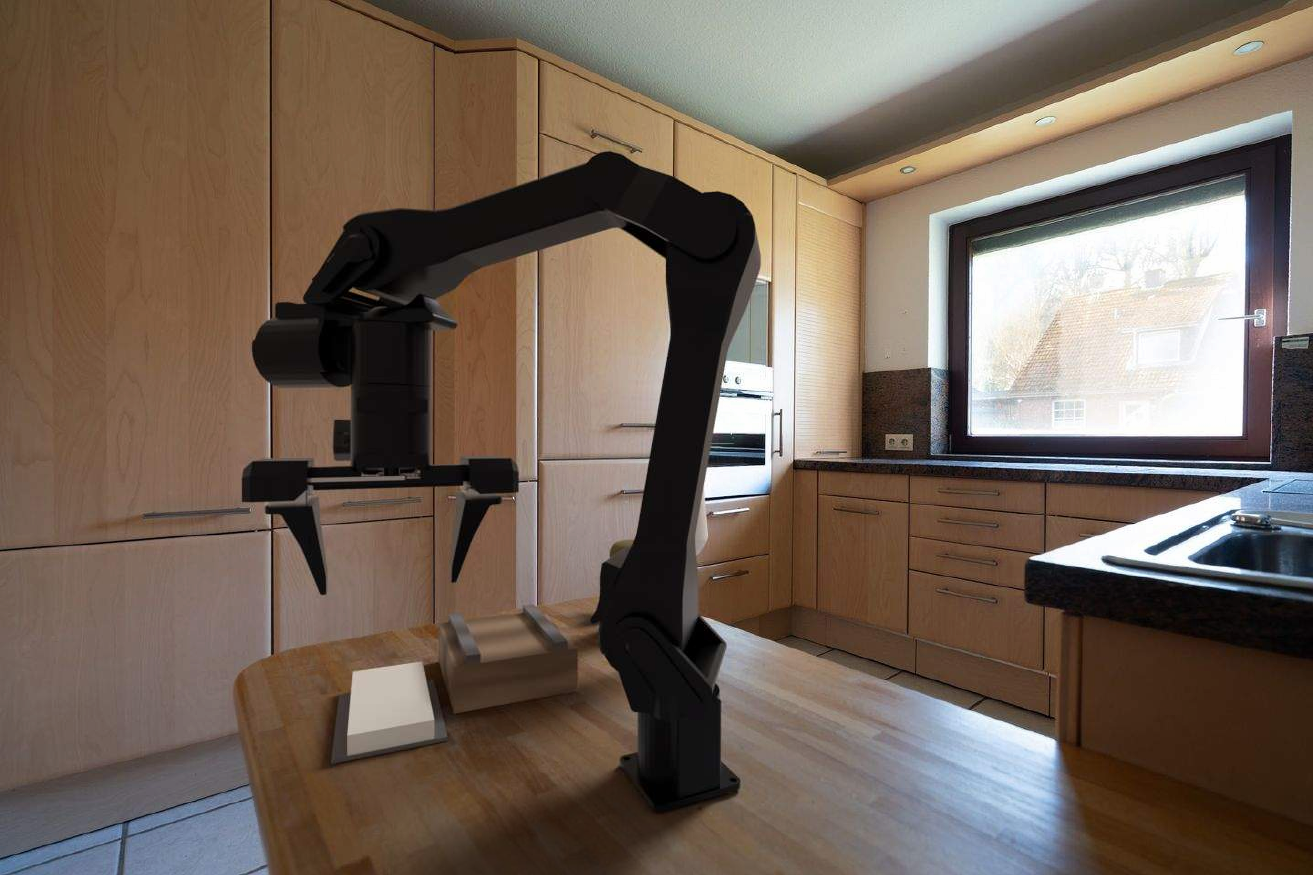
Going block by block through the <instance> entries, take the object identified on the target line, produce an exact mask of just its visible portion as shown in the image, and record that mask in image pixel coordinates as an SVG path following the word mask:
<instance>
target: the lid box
mask: <svg viewBox="0 0 1313 875" xmlns="http://www.w3.org/2000/svg"><path fill="white" fill-rule="evenodd" d="M438 664H439V667H440V671H441V673H442V677H443V680H444V683H445V688H446V692H447V695H448V698H449V701H450V704H451V708H452V712H453V714H460V713H464V712H465V713H466V712H470V711H477V710H481V709H487V708H492V707H499V706H503V705H508V704H515V703H519V702H524V701H529V700H536V699H541V698H546V697H552V696H558V695H562V694H569V693H574V692H578V691H579V647H577V645H576V644H575V643H574V642H573V641H572V639H570V638H569V637H568V636H567V635H566V633H564V631H562V629H561V628H559V626H558V625H557V624H556V623H555V622H554V621H553V620H552V618H550V617H549V616H548V615H547V614H546V613H545V612H544V611H543V610H539V608H538V607H537V606H535V604H534V603H533V604H526V605H522V612H518V613H511V614H504V615H496V616H495V615H494V616H486V617H479V618H471V619H470V618H469V619H464V617H463V615H462V613H461V612H459V613H450V614H448V621H445V622H439V623H438Z"/></svg>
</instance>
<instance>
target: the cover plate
mask: <svg viewBox="0 0 1313 875" xmlns="http://www.w3.org/2000/svg"><path fill="white" fill-rule="evenodd" d="M426 681H427V676H426V673H425V668H424V663H423V661H416V662H410V663H409V662H408V663H403V664H397V665H389V666H382V667H374V668H370V669H362V670H361V669H360V670H353V671H352V679H351V690H350V693H351V699H350V710H349V722H348V733H347V756H350V755H355V754H360V753H365V752H370V751H375V750H380V749H385V748H391V747H396V746H401V745H406V744H411V743H416V742H421V741H426V740H431V739H434V715H433V710H432V706H431V701H430V696H429V691H428V687H427V682H426Z"/></svg>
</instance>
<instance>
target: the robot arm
mask: <svg viewBox="0 0 1313 875" xmlns="http://www.w3.org/2000/svg"><path fill="white" fill-rule="evenodd" d="M617 228H618V229H620V230H622V231H623V232H625V233H627V234H628V235H630V236H631V237H633V238H634V239H636V241H639V242H640V243H641V244H643V245H645V246H646V247H647V248H648V249H649V250H652V251H653V252H655V254H658V255H659V256H660V257H662V258H664V260H665V287H666V288H665V289H666V299H667V307H668V316H669V317H668V318H669V325H670V328H669V330H670V332H669V333H670V335H669V342H668V348H667V354H666V361H665V366H664V370H663V372H664V373H663V376H662V377H663V378H662V382H661V383H662V384H661V387H660V388H661V389H660V394H659V401H658V405H657V411H656V417H655V423H654V424H655V425H654V430H653V434H652V442H651V446H650V453H649V458H648V459H649V460H648V465H647V471H646V475H645V476H646V477H645V482H644V487H643V492H642V493H643V494H642V499H641V505H640V511H639V517H638V521H637V522H638V523H637V528H636V534H635V536H634V539H633V540H634V541H633V544H632V546H631V548H628V547H626V548H624V549H623V550H621V551H620V552H618V553H617V554H615V555H614V556H612V557H611V558H610V557H609V558H608V559H606V560H605V561H603V562H602V563H601V565H600V573H599V600H598V603H597V604H596V605H597V606H596V608H595V611H594V613H593V615H592V616H591V618H590V619H589V622H590V624H591V625H595V624H597V623H599V626H598V629H597V630H598V631H597V642H598V647H599V652H600V654H602V655H603V656H604V658H605V659H606V660H607V662H608V664H609V665H610V667H612V669H614V670H615V671H616V672H617V673H618V675H619V678H620V682H621V684H622V687H623V690H624V693H625V696H626V699H627V702H628V704H629V707H630V710H631V711H632V712H634V713H637V751H636V752H632V753H628V754H624V755H621V756H620V757H619V765H620V768H622V770H623V771H624V773H625V775H627V777H628V778H629V779H630V781H631V782H632V784H633V785H634V786H635V787H636V789H637V790H638V791H639V793H640V795H641V796H642V797H643V798H644V800H645V801H646V802H647V804H648V805H649V807H650V808H651V809H652V810H653V811H655V812H657V813H660V812H661V813H662V812H666V811H670V810H673V809H676V808H679V807H683V806H686V805H689V804H690V805H691V804H693V803H698V802H701V801H703V800H707V799H710V798H714V797H718V796H721V795H724V794H728V793H731V792H735V791H738V790H740V789H741V779H740V777H739V776H738V775H736V773H735V772H733V771H732V770H731V769H730V768H729V767H728V766H727V765H726V764H725V763H724V762H723V761H722V700H721V697H720V696H721V692H720V691H721V689H720V686H719V685H718V684H717V683H716V682H717V679H718V675H719V672H720V671H721V670H720V669H721V667H722V663H723V660H724V656H725V654H726V650H727V647H728V644H727V642H726V641H725V640H724V639H723V638H722V636H720V634H719V633H718V632H717V631H716V630H715V629H714V628H713V626H711V625H710V623H708V622H707V621H706V619H704V618H703V616H701V614H699V570H698V561H697V556H696V549H695V533H696V527H697V522H698V516H699V510H700V505H701V499H702V493H703V488H704V489H705V481H706V475H707V469H708V465H709V464H708V463H709V458H710V453H711V448H712V441H713V437H714V430H715V425H716V420H717V414H718V407H719V404H720V403H719V402H720V396H721V390H722V385H723V379H724V374H725V366H726V363H727V357H728V351H729V349H730V346H731V343H732V341H733V338H734V337H735V334H736V332H737V330H738V327H739V325H740V323H741V321H742V318H743V317H744V315H745V312H746V310H747V308H748V304H749V302H750V299H751V295H752V293H753V291H754V288H755V286H756V283H757V280H758V277H759V274H760V270H761V268H762V267H761V265H762V261H761V260H762V259H761V258H762V254H761V249H760V244H759V240H758V239H759V238H758V234H757V228H756V224H755V219H754V215H753V214H752V212H751V211H750V210H749V207H747V206H746V204H745V203H744V202H743V201H742V200H740V199H739V198H738V197H736V196H734V195H733V194H730V193H727V192H722V191H719V190H717V191H714V190H713V191H704V192H702V191H700V190H698V189H696V188H694V187H692V186H691V185H689V184H687V183H685V182H684V181H682V180H681V179H679V178H676V177H675V176H672V175H671V174H666V173H665V172H661V171H657V170H655V169H652V168H650V167H646V166H642V165H640V164H638V163H636V162H635V161H633V160H631V159H630V158H629V157H627V156H625V155H624V154H622V153H618V152H616V151H615V152H614V151H610V150H608V151H600V152H598V153H597V154H595V155H593V156H591V157H590V158H589V160H588V161H587V162H584V163H582V164H578V165H575V166H572V167H569V168H566V169H563V170H560V171H558V172H557V171H556V172H554V173H550V174H548V175H545V176H542V177H539V178H535V179H533V180H530V181H527V182H524V183H520V184H518V185H515V186H512V187H509V188H506V189H503V190H499V191H497V192H493V193H490V194H488V195H484V196H481V197H479V198H475V199H473V200H469V201H467V202H464V203H460V204H458V205H455V206H450V207H448V208H442V209H441V208H440V209H420V208H419V209H418V208H406V207H405V208H404V207H398V208H390V209H388V208H387V209H384V210H376V211H375V210H374V211H368V212H363V213H359V214H357V215H354V216H352V217H351V218H350V219H348V221H346V222H345V223H344V224H343V225H342V230H343V232H342V233H341V234H340V236H339V238H338V239H337V241H336V242H335V244H334V246H333V247H332V248H331V250H330V252H329V253H328V255H327V257H326V259H325V260H324V261H323V264H322V265H321V267H320V268H319V270H318V271H317V273H315V275H314V276H313V277H312V278H311V282H310V284H309V286H308V287H307V289H306V291H305V292H304V294H303V297H302V302H304V303H296V302H290V301H277V302H276V303H275V305H274V317H272V318H269V319H268V320H266V321H265V322H263V323H262V324H261V325H260V327H259V328H258V331H257V332H256V335H255V338H254V339H253V340H252V342H251V353H252V354H251V355H252V359H253V362H254V365H255V368H256V370H257V371H258V373H259V375H260V376H261V377H262V378H263V379H264V380H265V382H267V383H269V384H271V386H275V387H277V388H281V389H298V388H299V389H301V388H302V389H303V388H304V389H305V388H307V389H310V388H311V389H312V388H313V389H315V388H318V389H319V388H347V387H350V419H334V420H333V432H332V454H333V459H334V460H333V461H336V462H343V461H344V462H345V461H346V462H348V461H349V462H350V465H341V466H339V465H337V466H336V465H335V466H334V465H331V466H328V465H327V466H322V465H321V466H320V465H319V466H315V460H314V457H290V458H289V457H283V458H282V457H281V458H279V457H278V458H277V457H276V458H274V457H273V458H272V457H270V458H269V457H268V458H259V459H256V460H252V461H251V462H250V463H248V464H247V466H245V467H244V468H243V469H242V475H241V502H242V503H267V504H266V505H265V506H264V515H280V516H281V517H282V520H283V521H284V522H285V524H286V526H287V528H289V530H290V532H291V534H292V536H293V538H294V539H295V540H296V542H297V544H298V546H299V547H300V549H301V551H302V554H303V556H304V559H305V561H306V563H307V566H308V569H309V571H310V573H311V576H312V578H313V581H314V583H315V585H316V588H317V590H318V593H319V595H320V596H326V595H327V594H328V578H329V577H328V576H329V575H328V565H327V564H328V563H327V558H326V550H325V542H324V537H323V529H322V522H321V509H320V497H313V496H314V495H315V494H316V491H339V490H367V489H370V490H372V489H373V490H374V489H397V488H398V489H399V488H400V489H405V488H406V489H407V488H409V489H411V488H434V487H435V488H438V487H441V488H442V487H460V488H459V489H461V491H459V492H455V507H454V508H455V514H454V521H453V531H452V539H451V547H450V552H449V553H450V556H449V565H448V566H449V581H450V583H452V584H454V583H455V584H456V583H457V581H458V578H459V575H460V573H461V570H462V569H463V566H464V563H465V560H466V558H467V555H468V552H469V550H470V548H471V544H472V541H473V540H474V537H475V535H476V533H477V531H478V529H479V527H480V525H481V524H482V522H483V520H484V518H485V516H486V515H487V512H488V511H489V509H490V507H491V506H494V505H495V506H496V505H502V504H503V497H502V496H500V495H499V494H514V493H520V491H519V486H520V480H519V479H520V478H519V477H520V474H519V473H520V472H519V468H518V467H519V466H518V464H517V463H516V462H515V461H514V460H513V459H512V457H508V456H503V455H485V456H484V455H479V456H478V455H476V456H475V455H473V456H471V455H469V456H467V455H466V456H462V455H461V456H460V459H459V463H456V464H455V463H454V464H432V462H431V460H432V459H431V456H432V455H431V454H432V453H431V448H432V447H431V444H432V443H431V442H432V441H431V439H432V438H431V436H432V433H431V431H432V430H431V429H432V426H431V425H432V422H431V421H432V413H431V412H432V409H431V408H432V403H431V402H432V401H431V400H432V388H431V387H432V331H450V330H455V329H456V328H457V327H458V321H456V320H455V319H454V318H453V317H451V315H450V314H448V313H447V312H446V311H445V310H444V309H443V308H442V307H441V305H440V303H439V301H438V300H437V299H439V298H440V297H442V296H444V295H446V294H448V293H451V292H452V291H454V290H456V289H457V288H458V287H459V286H460V285H461V284H462V282H463V281H464V280H465V279H466V278H467V277H468V276H469V275H471V274H472V273H474V272H477V271H478V270H480V269H482V268H483V269H484V268H485V267H489V266H491V265H495V264H498V263H501V262H505V261H508V260H512V259H515V258H518V257H521V256H525V255H530V254H531V253H534V252H538V251H542V250H545V249H548V248H551V247H555V246H558V245H561V244H564V243H568V242H571V241H574V240H578V239H582V238H584V237H588V236H591V235H594V234H598V233H601V232H604V231H608V230H610V229H617ZM353 288H354V289H355V290H357V291H360V292H363V293H365V294H368V295H372V296H375V297H377V298H378V299H376V298H375V299H374V298H372V297H368V296H367V295H362V294H359V293H356V292H352V291H351V289H353Z"/></svg>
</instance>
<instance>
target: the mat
mask: <svg viewBox="0 0 1313 875" xmlns="http://www.w3.org/2000/svg"><path fill="white" fill-rule="evenodd" d="M426 682H427V687H428V691H429V696H430V701H431V706H432V710H433V715H434V739H431V740H426V741H421V742H416V743H411V744H406V745H401V746H396V747H391V748H385V749H380V750H375V751H370V752H365V753H360V754H355V755H350V756H347V733H348V722H349V710H350V699H351V692H348V693H346V692H345V693H340V694H339V695H338V701H337V710H336V717H335V718H336V719H335V726H334V733H333V743H332V750H331V759H330V764H331V765H334V764H338V763H344V762H347V761H353V760H359V759H364V758H368V757H373V756H377V755H384V754H388V753H393V752H397V751H399V752H400V751H403V750H408V749H413V748H419V747H423V746H428V745H431V744H432V745H434V744H436V743H437V744H438V743H442V742H448V741H449V740H448V734H447V733H448V732H447V729H446V726H445V722H444V718H443V716H444V715H443V713H442V709H441V704H440V702H439V701H440V700H439V697H438V693H437V692H438V691H437V689H436V688H437V687H436V685H435V680H434V679H429V680H428V679H427V680H426Z"/></svg>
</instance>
